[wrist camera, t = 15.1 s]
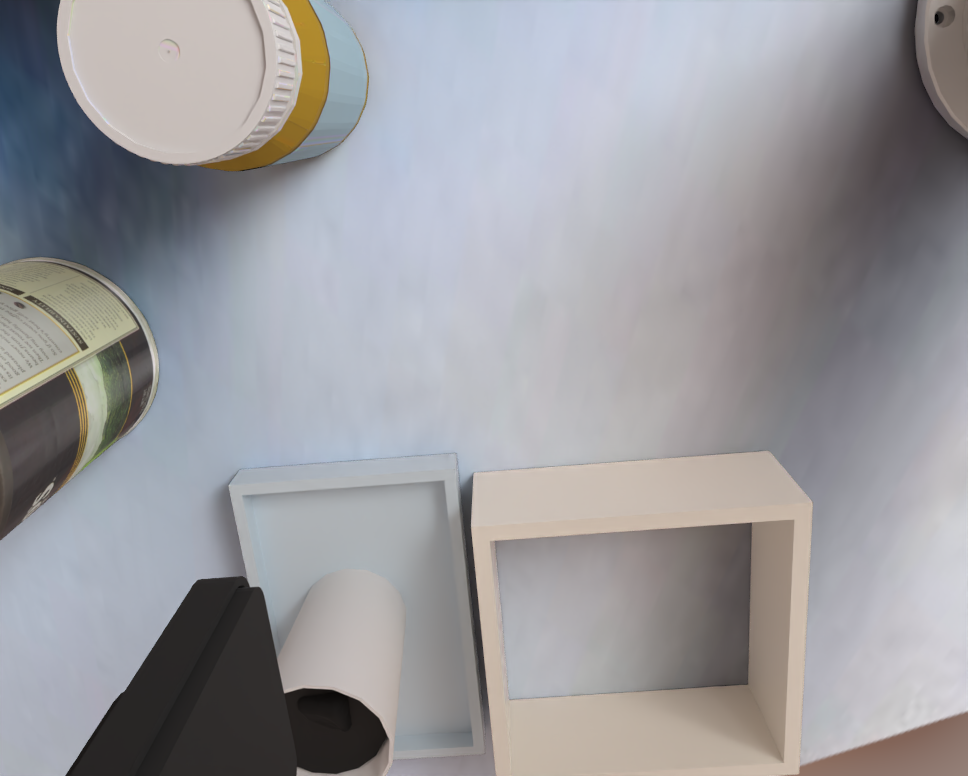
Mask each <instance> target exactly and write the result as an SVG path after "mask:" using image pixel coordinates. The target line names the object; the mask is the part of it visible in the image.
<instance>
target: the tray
mask: <svg viewBox="0 0 968 776" xmlns="http://www.w3.org/2000/svg"><path fill="white" fill-rule="evenodd" d="M228 487H229V492H230V497H231V501H232V506H233V511H234V516H235V521H236V526H237V531H238V536H239V540H240V545H241V550H242V555H243V560H244V565H245V570H246V575H247V579H248V583H249V585H250V587H260V588H261V589H262V591H263V593H264V597H265V601H266V606H267V611H268V616H269V621H270V626H271V631H272V636H273V641H274V646H275V651H276V656H277V658H278V656H279V654H280V652H281V650H282V648H283V646H284V643H285V641H286V639H287V637H288V635H289V633H290V631H291V629H292V627H293V624H294V622H295V620H296V618H297V616H298V614H299V612H300V610H301V608H302V606H303V603H304V601H305V599H306V597H307V595H308V593H309V591H310V589H311V587H312V586H313V585H314V584H315V583H316V582H317V581H319V580H320V579H321V578H322V577H324V576H325V575H326V574H329V573H332V572H336V571H339V570H343V569H360V570H368V571H370V572H372V573H375V574H377V575H379V576H382V577H384V578H386V579H387V580H388V581H389V582H390V583H391V584H392V585H393V586H394V587H395V588H396V589H397V590H398V591H399V592H400V594H401V597H402V599H403V601H404V604H405V606H406V627H405V637H404V647H403V658H402V668H401V679H400V689H399V699H398V710H397V720H396V731H395V741H394V752H393V760H399V759H415V758H431V757H447V756H464V755H480V754H485V723H484V713H483V703H482V694H481V684H480V674H479V665H478V655H477V646H476V636H475V626H474V617H473V607H472V597H471V588H470V578H469V569H468V559H467V549H466V540H465V530H464V520H463V511H462V501H461V492H460V482H459V472H458V463H457V453H450V454H437V455H424V456H411V457H397V458H384V459H371V460H357V461H344V462H331V463H318V464H304V465H291V466H278V467H264V468H251V469H240V470H239V471H238V473H237V474H236V476H235V477H234V478H233V480H232V481H231V482H230V484H229V485H228Z"/></svg>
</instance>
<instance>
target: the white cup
mask: <svg viewBox="0 0 968 776" xmlns="http://www.w3.org/2000/svg"><path fill="white" fill-rule="evenodd" d="M405 627H406V606H405V604H404V601H403V599H402V597H401V594H400V592H399V591H398V590H397V589H396V588H395V587H394V586H393V585H392V584H391V583H390V582H389V581H388V580H387V579H386V578H384V577H382V576H379V575H377V574H375V573H372V572H370V571H368V570H360V569H343V570H339V571H336V572H332V573H329V574H326V575H325V576H324V577H322V578H321V579H320V580H319V581H317V582H316V583H315V584H314V585H313V586H312V587H311V589H310V591H309V593H308V595H307V597H306V599H305V601H304V603H303V606H302V608H301V610H300V612H299V614H298V616H297V618H296V620H295V622H294V624H293V627H292V629H291V631H290V633H289V635H288V637H287V639H286V641H285V643H284V646H283V648H282V650H281V652H280V654H279V656H278V658H277V661H278V666H279V671H280V676H281V681H282V686H283V690H284V695H285V700H286V705H287V710H288V715H289V720H290V725H291V730H292V735H293V740H294V745H295V750H296V756H297V774H296V776H386V774H387V772H388V771H389V769H390V767H391V765H392V762H393V752H394V741H395V731H396V720H397V710H398V699H399V689H400V679H401V668H402V658H403V647H404V637H405Z"/></svg>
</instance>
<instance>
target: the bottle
mask: <svg viewBox="0 0 968 776" xmlns="http://www.w3.org/2000/svg"><path fill="white" fill-rule="evenodd" d="M57 42H58V50H59V56H60V61H61V65H62V68H63V71H64V74H65V77H66V80H67V82H68V85H69V87H70V89H71V91H72V93H73V95H74V97H75V98H76V100H77V102H78V103H79V105H80V106H81V108H82V109H83V111H84V112H85V113H86V115H87V116H88V117H89V119H90V120H91V121H92V122H93V123H94V124H95V125H96V126H97V127H98V128H99V129H100V130H101V131H102V132H103V133H104V134H105V135H107V136H108V137H109V138H110V139H112V140H113V141H114V142H116V143H117V144H118V145H120V146H122V147H123V148H125V149H127V150H128V151H130V152H133V153H135V154H137V155H138V156H140V157H142V158H143V157H145V158H148V159H149V160H150V161H153V162H155V161H159V162H161V163H162V164H173V165H174V166H180V165H186V166H191V165H198V166H202V167H205V168H211V169H218V170H224V171H245V170H250V169H256V168H261V167H266V166H271V165H276V164H281V163H286V162H291V161H296V160H301V159H306V158H311V157H316V156H319V155H321V154H323V153H325V152H327V151H329V150H331V149H332V148H334V147H336V146H338V145H339V144H340V143H342V142H343V141H344V140H345V139H346V137H347V136H348V135H349V134H350V133H351V132H352V131H353V129H354V128H355V127H356V125H357V124H358V122H359V120H360V117H361V115H362V112H363V110H364V108H365V105H366V101H367V94H368V83H369V76H368V69H367V64H366V59H365V54H364V51H363V49H362V46H361V44H360V42H359V41H358V39H357V37H356V35H355V33H354V31H353V29H352V28H351V27H350V25H349V24H348V23H347V22H346V21H345V20H344V19H343V18H342V17H341V15H340V14H339V13H338V12H337V11H336V10H335V9H334V8H333V7H331V6H330V5H329V4H327V3H326V2H325V1H323V0H61V2H60V6H59V12H58V20H57Z"/></svg>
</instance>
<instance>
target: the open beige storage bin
mask: <svg viewBox="0 0 968 776" xmlns="http://www.w3.org/2000/svg"><path fill="white" fill-rule="evenodd" d="M812 510H813V502H812V501H811V500H810V498H809V497H808V496H807V495H806V494H805V493H804V491H803V490H802V489H801V488H800V487H799V485H798V484H797V483H796V482H795V481H794V480H793V478H792V477H791V476H790V475H789V474H788V472H787V471H786V470H785V469H784V468H783V467H782V465H781V464H780V463H779V462H778V461H777V459H776V458H775V457H774V456H773V455H772V454H771V452H770V451H758V452H744V453H731V454H717V455H704V456H690V457H677V458H664V459H650V460H637V461H623V462H610V463H596V464H583V465H569V466H556V467H543V468H529V469H516V470H502V471H489V472H475V473H474V475H473V495H472V516H471V532H472V542H473V552H474V562H475V572H476V582H477V592H478V602H479V612H480V622H481V631H482V641H483V651H484V661H485V671H486V681H487V691H488V701H489V711H490V721H491V731H492V741H493V750H494V760H495V770H496V776H779V775H796V774H799V765H800V745H801V726H802V706H803V687H804V667H805V647H806V628H807V608H808V589H809V569H810V550H811V530H812ZM751 522H752V543H751V584H750V625H749V666H748V685H733V686H717V687H702V688H686V689H671V690H655V691H640V692H624V693H609V694H593V695H578V696H562V697H547V698H531V699H516V700H509V691H508V680H507V669H506V658H505V647H504V636H503V625H502V614H501V603H500V592H499V581H498V570H497V559H496V548H495V541H499V540H513V539H527V538H541V537H555V536H569V535H583V534H597V533H611V532H625V531H639V530H653V529H667V528H681V527H695V526H709V525H723V524H737V523H751Z"/></svg>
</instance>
